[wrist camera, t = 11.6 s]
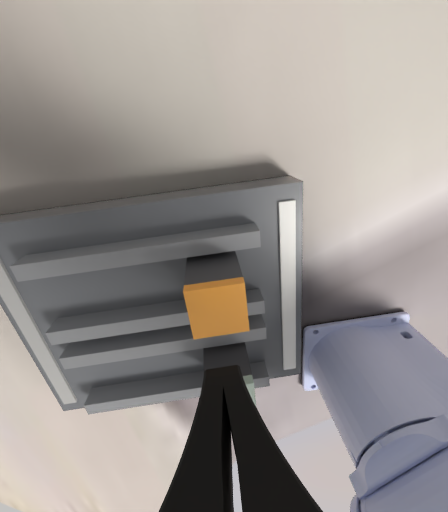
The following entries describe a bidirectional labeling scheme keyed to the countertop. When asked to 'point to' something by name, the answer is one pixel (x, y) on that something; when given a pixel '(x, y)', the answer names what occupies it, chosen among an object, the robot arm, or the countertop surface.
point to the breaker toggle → (215, 295)
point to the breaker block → (152, 291)
